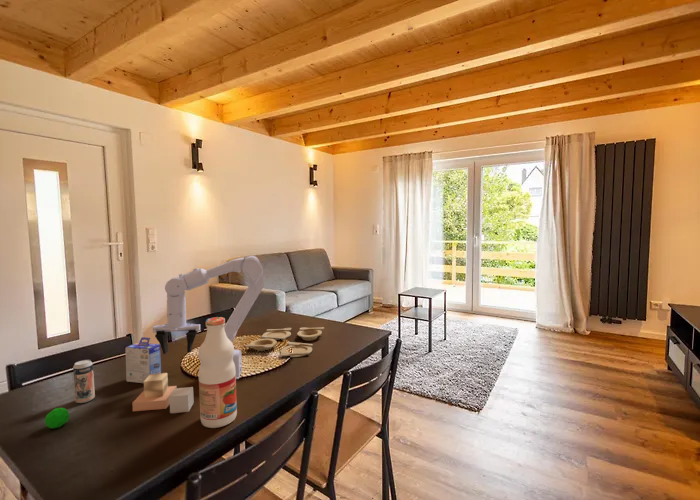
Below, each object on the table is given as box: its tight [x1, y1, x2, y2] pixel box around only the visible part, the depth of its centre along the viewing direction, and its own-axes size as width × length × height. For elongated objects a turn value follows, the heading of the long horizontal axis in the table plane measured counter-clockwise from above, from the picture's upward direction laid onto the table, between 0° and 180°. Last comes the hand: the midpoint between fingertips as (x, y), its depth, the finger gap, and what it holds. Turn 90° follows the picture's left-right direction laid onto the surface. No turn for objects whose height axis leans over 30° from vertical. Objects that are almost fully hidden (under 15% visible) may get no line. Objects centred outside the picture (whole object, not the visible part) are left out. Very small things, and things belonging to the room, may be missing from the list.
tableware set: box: [244, 326, 325, 358], centre depth 153 cm, size 35×29×4 cm
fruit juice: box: [197, 316, 238, 429], centre depth 93 cm, size 9×9×28 cm
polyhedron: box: [44, 407, 70, 429], centre depth 91 cm, size 5×5×5 cm
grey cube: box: [169, 386, 195, 414], centre depth 99 cm, size 5×5×5 cm
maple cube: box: [143, 372, 169, 398], centre depth 103 cm, size 5×5×5 cm
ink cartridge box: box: [125, 336, 162, 384], centre depth 118 cm, size 10×6×14 cm, turn 78°
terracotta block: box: [131, 385, 178, 412], centre depth 103 cm, size 9×9×3 cm
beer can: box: [72, 359, 96, 404], centre depth 104 cm, size 5×5×12 cm
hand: (177, 352), depth 115 cm, fingers open, 7 cm apart
